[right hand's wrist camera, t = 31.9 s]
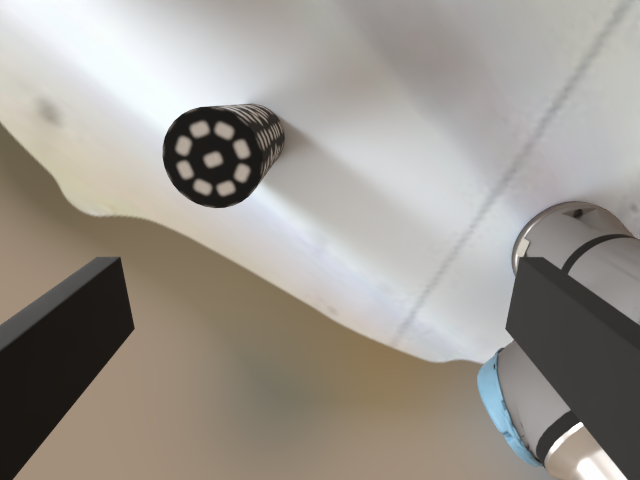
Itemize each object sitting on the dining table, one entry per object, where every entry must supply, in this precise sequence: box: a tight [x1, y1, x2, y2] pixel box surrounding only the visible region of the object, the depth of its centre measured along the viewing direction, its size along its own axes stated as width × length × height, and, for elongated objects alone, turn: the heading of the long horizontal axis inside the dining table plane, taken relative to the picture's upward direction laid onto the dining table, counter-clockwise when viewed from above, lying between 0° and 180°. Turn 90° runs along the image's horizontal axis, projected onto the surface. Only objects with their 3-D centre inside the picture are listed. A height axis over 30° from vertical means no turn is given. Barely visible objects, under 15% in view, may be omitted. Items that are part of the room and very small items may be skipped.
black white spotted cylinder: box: [163, 104, 284, 208], centre depth 41 cm, size 8×8×20 cm
